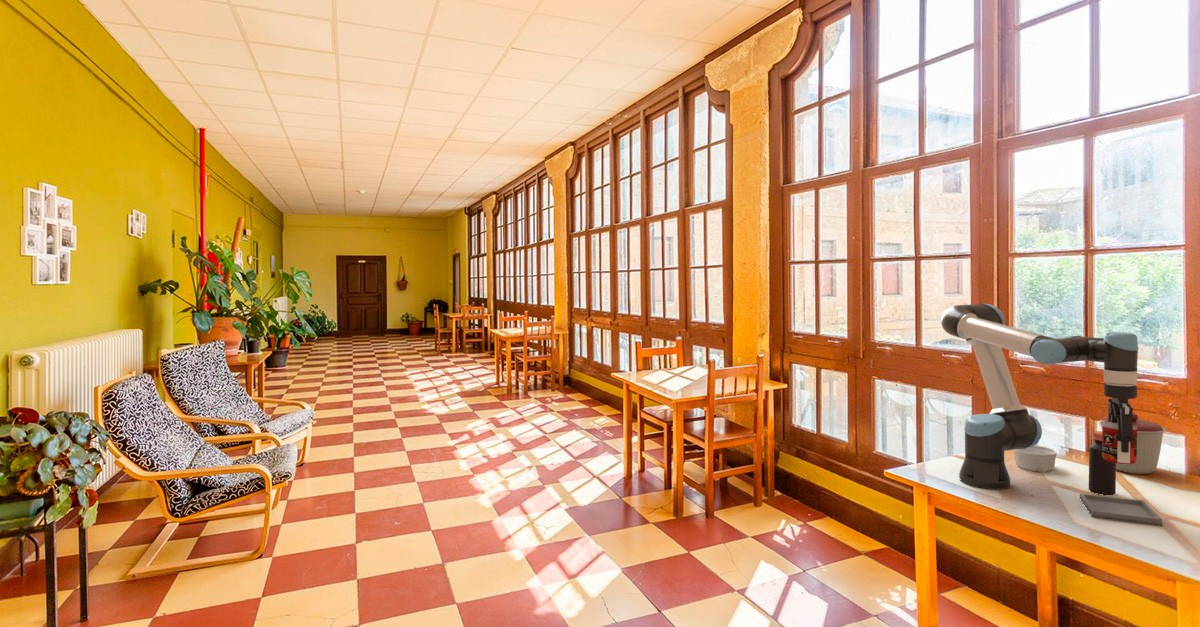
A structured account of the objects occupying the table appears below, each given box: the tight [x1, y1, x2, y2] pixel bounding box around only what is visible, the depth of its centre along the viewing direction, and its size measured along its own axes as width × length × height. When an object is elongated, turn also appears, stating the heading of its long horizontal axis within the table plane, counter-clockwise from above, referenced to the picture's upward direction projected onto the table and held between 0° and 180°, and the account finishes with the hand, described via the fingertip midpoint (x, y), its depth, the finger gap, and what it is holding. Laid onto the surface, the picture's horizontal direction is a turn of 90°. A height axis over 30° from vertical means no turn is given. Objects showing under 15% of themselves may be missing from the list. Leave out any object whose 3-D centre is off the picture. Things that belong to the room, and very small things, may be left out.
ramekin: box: [1012, 444, 1058, 473], centre depth 220 cm, size 13×13×7 cm
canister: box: [1098, 412, 1167, 475], centre depth 214 cm, size 18×18×21 cm
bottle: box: [1088, 430, 1117, 496], centre depth 193 cm, size 7×7×20 cm
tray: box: [1079, 493, 1163, 527], centre depth 178 cm, size 16×16×2 cm
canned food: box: [1101, 422, 1137, 464], centre depth 177 cm, size 8×8×11 cm
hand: (1119, 458), depth 177 cm, fingers closed on canned food, 8 cm apart
